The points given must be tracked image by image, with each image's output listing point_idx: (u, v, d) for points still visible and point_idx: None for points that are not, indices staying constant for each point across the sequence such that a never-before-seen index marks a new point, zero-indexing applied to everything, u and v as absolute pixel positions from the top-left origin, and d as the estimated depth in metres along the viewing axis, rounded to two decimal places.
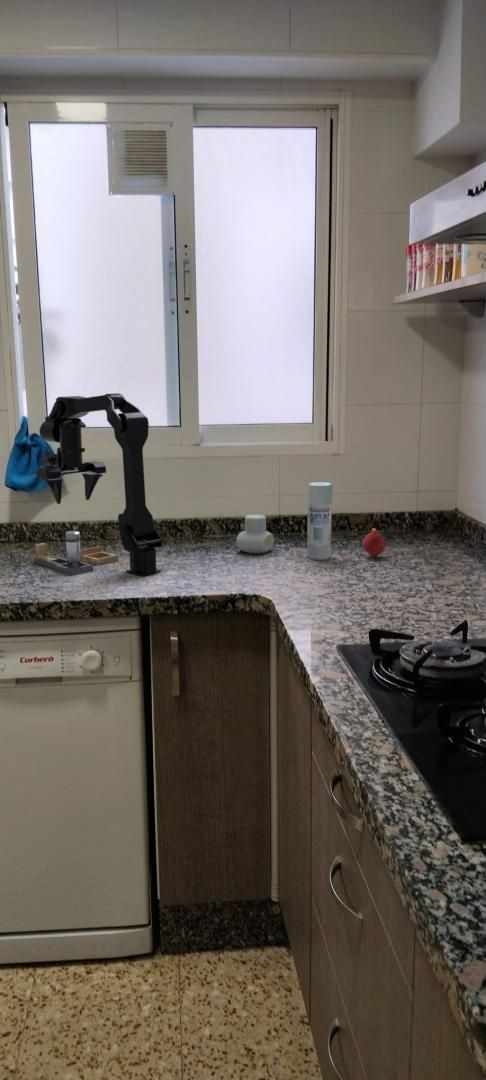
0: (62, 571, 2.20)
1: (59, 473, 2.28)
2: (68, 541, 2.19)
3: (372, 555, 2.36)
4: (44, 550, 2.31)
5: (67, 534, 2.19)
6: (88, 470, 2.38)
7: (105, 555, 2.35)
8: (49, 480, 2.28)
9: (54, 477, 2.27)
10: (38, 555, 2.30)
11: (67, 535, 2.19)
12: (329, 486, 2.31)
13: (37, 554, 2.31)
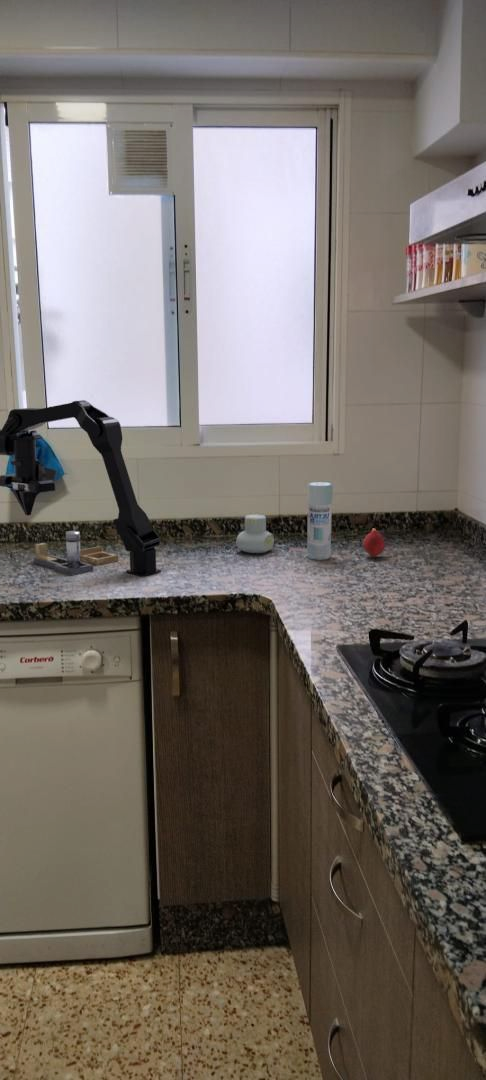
0: (62, 571, 2.20)
1: (4, 482, 2.33)
2: (68, 541, 2.19)
3: (372, 555, 2.36)
4: (44, 550, 2.31)
5: (67, 534, 2.19)
6: (26, 485, 2.31)
7: (105, 555, 2.35)
8: None
9: (1, 485, 2.34)
10: (38, 555, 2.30)
11: (67, 535, 2.19)
12: (329, 486, 2.31)
13: (37, 554, 2.31)
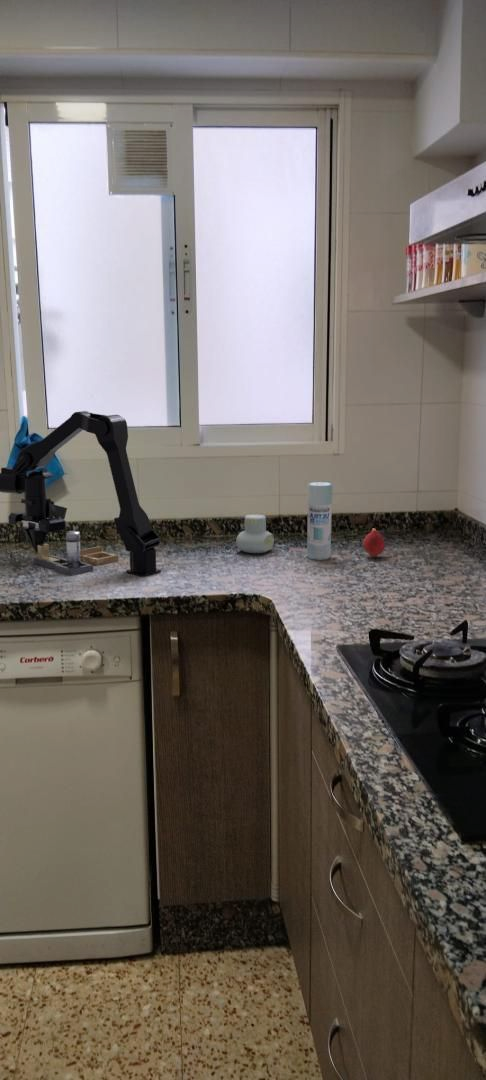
0: (62, 571, 2.20)
1: (14, 520, 2.32)
2: (68, 541, 2.19)
3: (372, 555, 2.36)
4: (46, 551, 2.30)
5: (67, 534, 2.19)
6: (36, 523, 2.30)
7: (105, 555, 2.35)
8: None
9: (11, 522, 2.34)
10: (40, 556, 2.30)
11: (67, 535, 2.19)
12: (329, 486, 2.31)
13: (39, 555, 2.30)
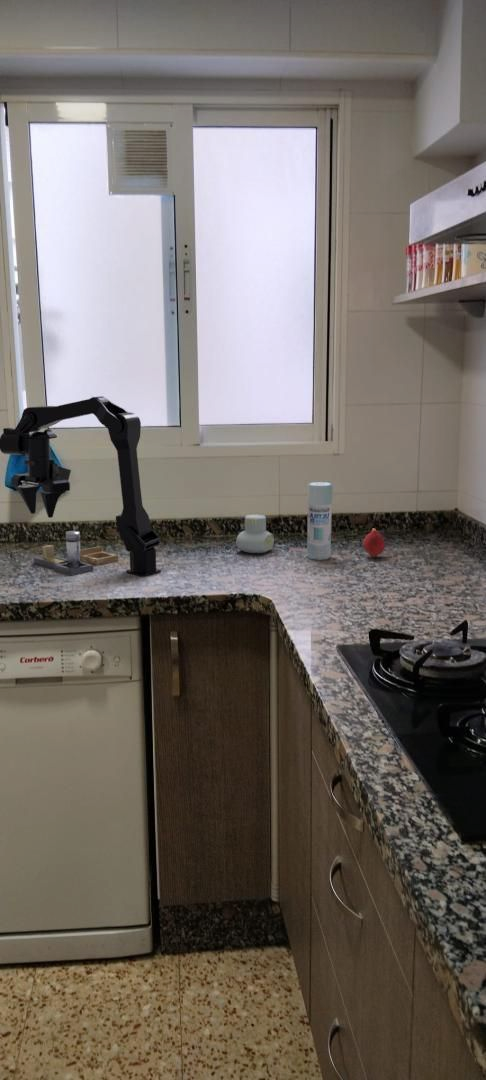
0: (62, 571, 2.20)
1: (17, 481, 2.28)
2: (68, 541, 2.19)
3: (372, 555, 2.36)
4: (51, 552, 2.29)
5: (67, 534, 2.19)
6: None
7: (105, 555, 2.35)
8: None
9: (14, 484, 2.30)
10: (45, 557, 2.28)
11: (67, 535, 2.19)
12: (329, 486, 2.31)
13: (44, 556, 2.28)
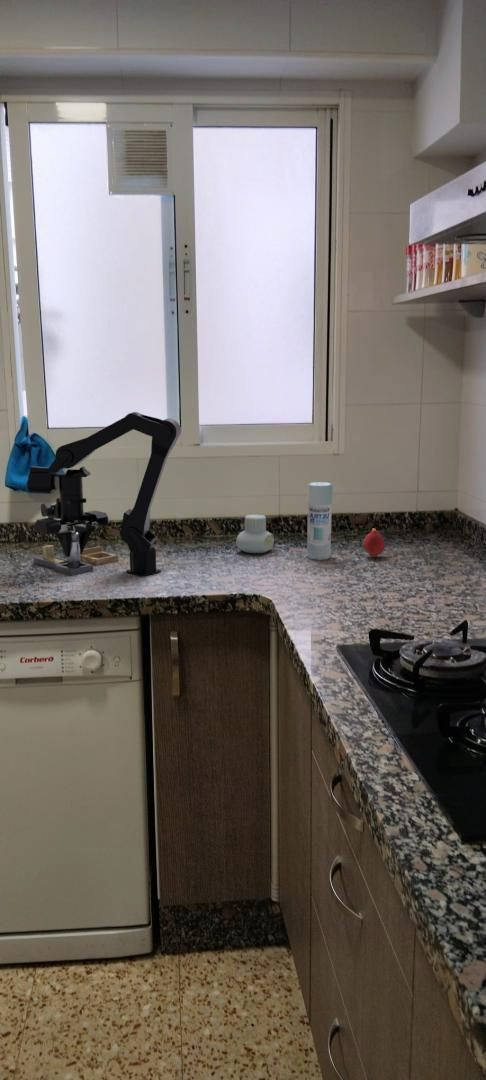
0: (62, 571, 2.20)
1: (59, 527, 2.13)
2: None
3: (372, 555, 2.36)
4: (51, 552, 2.29)
5: None
6: (80, 522, 2.21)
7: (105, 555, 2.35)
8: (58, 532, 2.15)
9: (54, 531, 2.12)
10: (45, 557, 2.28)
11: None
12: (329, 486, 2.31)
13: (44, 556, 2.28)
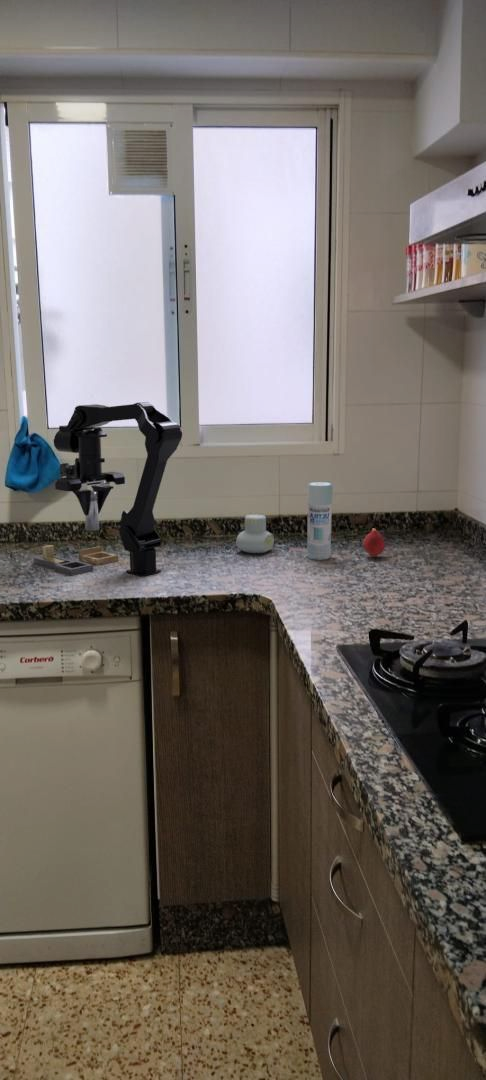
0: (62, 571, 2.20)
1: (80, 485, 2.19)
2: None
3: (372, 555, 2.36)
4: (51, 552, 2.29)
5: None
6: (98, 482, 2.27)
7: (105, 555, 2.35)
8: (78, 491, 2.21)
9: (75, 489, 2.18)
10: (45, 557, 2.28)
11: None
12: (329, 486, 2.31)
13: (44, 556, 2.28)
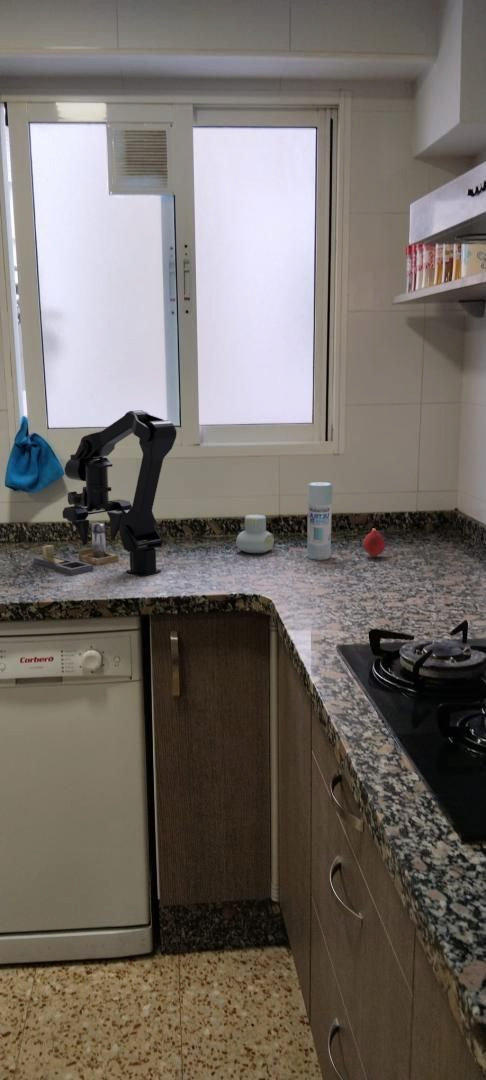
0: (62, 571, 2.20)
1: (86, 514, 2.23)
2: (94, 532, 2.29)
3: (372, 555, 2.36)
4: (51, 552, 2.29)
5: (93, 526, 2.29)
6: (114, 509, 2.33)
7: None
8: (76, 521, 2.23)
9: (81, 518, 2.22)
10: (45, 557, 2.28)
11: (93, 527, 2.29)
12: (329, 486, 2.31)
13: (44, 556, 2.28)
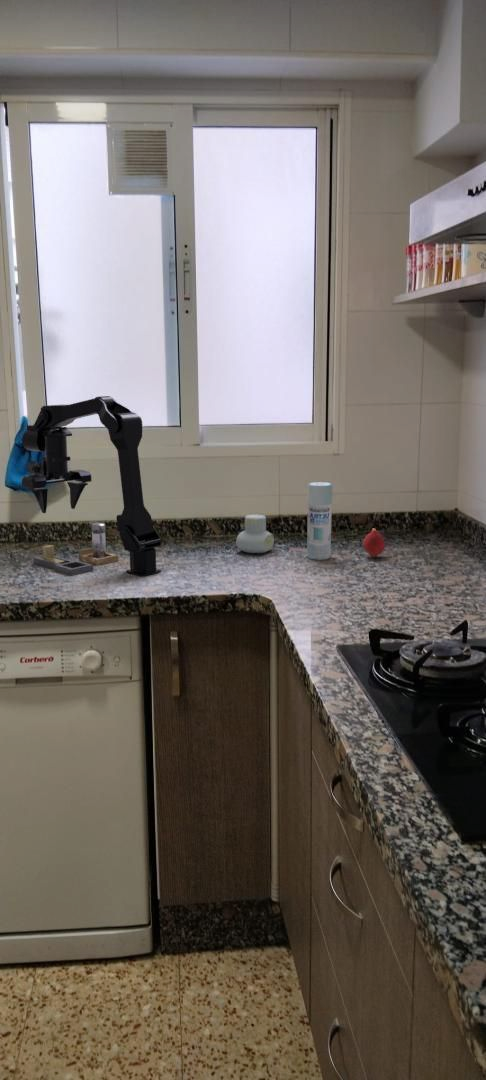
0: (62, 571, 2.20)
1: (45, 482, 2.27)
2: (94, 532, 2.29)
3: (372, 555, 2.36)
4: (51, 552, 2.29)
5: (93, 526, 2.29)
6: (73, 479, 2.37)
7: None
8: (35, 489, 2.27)
9: (40, 486, 2.26)
10: (45, 557, 2.28)
11: (93, 527, 2.29)
12: (329, 486, 2.31)
13: (44, 556, 2.28)
